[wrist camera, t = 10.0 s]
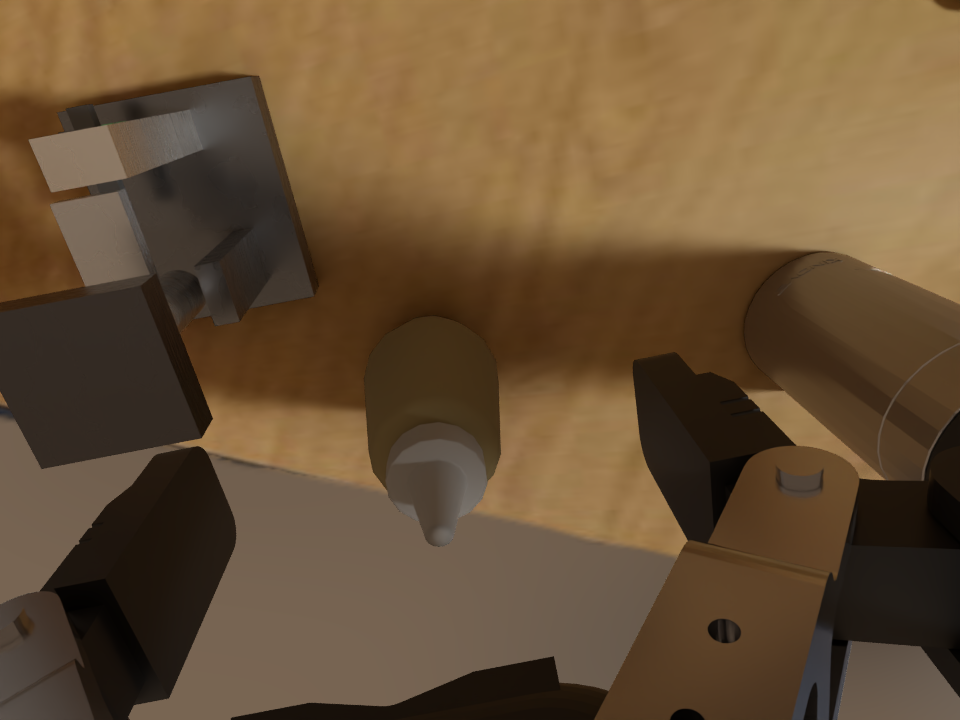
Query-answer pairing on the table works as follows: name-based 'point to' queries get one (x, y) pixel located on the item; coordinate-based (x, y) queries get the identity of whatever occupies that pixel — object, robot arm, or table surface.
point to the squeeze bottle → (433, 421)
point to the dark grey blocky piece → (103, 345)
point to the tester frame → (197, 189)
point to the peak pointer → (88, 118)
